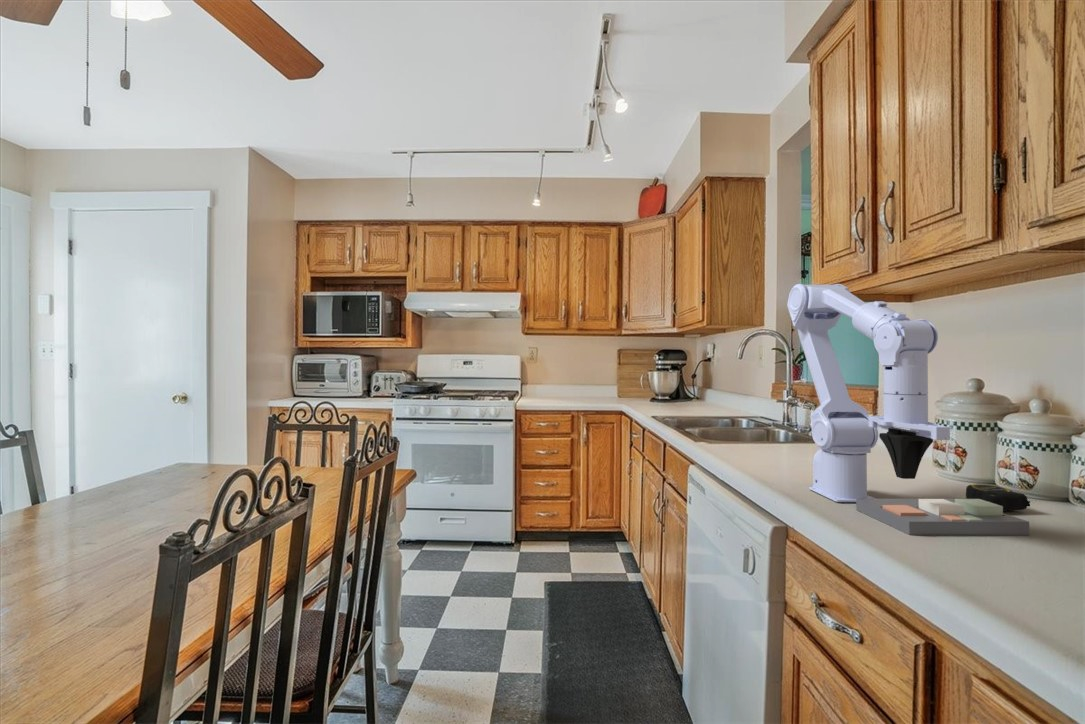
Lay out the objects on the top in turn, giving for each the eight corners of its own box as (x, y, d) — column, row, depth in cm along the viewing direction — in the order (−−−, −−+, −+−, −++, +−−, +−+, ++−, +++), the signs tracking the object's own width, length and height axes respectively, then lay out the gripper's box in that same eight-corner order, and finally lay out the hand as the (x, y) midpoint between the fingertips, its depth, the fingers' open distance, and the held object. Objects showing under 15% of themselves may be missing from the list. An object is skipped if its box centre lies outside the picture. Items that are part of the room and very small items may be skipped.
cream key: (918, 512, 77) (918, 498, 77) (942, 512, 77) (942, 498, 77) (939, 520, 73) (938, 506, 73) (964, 520, 73) (964, 506, 73)
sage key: (955, 512, 77) (954, 498, 77) (979, 512, 77) (979, 498, 77) (977, 520, 73) (977, 506, 73) (1002, 520, 73) (1002, 506, 73)
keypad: (856, 509, 82) (856, 497, 82) (958, 509, 82) (958, 497, 82) (909, 534, 70) (909, 520, 70) (1029, 534, 70) (1029, 520, 70)
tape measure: (992, 515, 80) (992, 493, 80) (955, 503, 86) (955, 483, 86) (1030, 515, 80) (1030, 493, 80) (991, 503, 87) (991, 483, 87)
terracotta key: (882, 518, 77) (882, 505, 77) (906, 518, 77) (906, 505, 77) (900, 526, 73) (900, 512, 73) (926, 526, 73) (926, 512, 73)
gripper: (851, 391, 83) (851, 467, 82) (915, 397, 68) (916, 489, 68) (891, 391, 82) (891, 467, 82) (964, 397, 68) (964, 489, 68)
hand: (905, 477), depth 75 cm, fingers closed
